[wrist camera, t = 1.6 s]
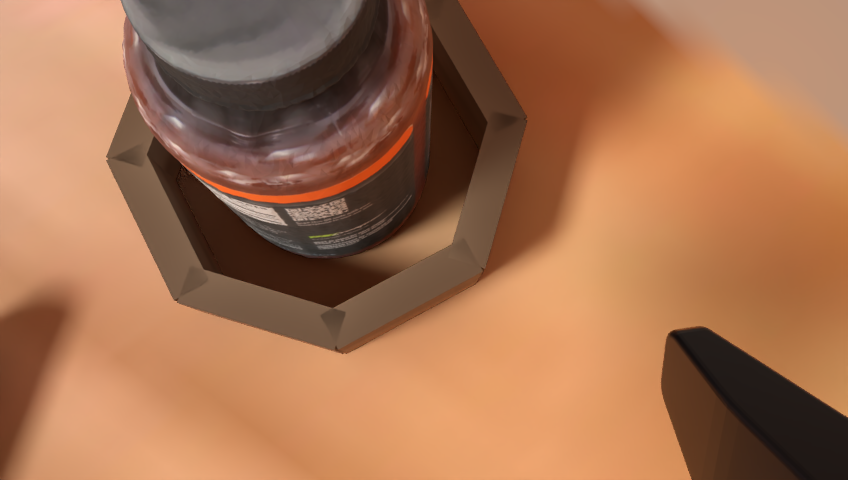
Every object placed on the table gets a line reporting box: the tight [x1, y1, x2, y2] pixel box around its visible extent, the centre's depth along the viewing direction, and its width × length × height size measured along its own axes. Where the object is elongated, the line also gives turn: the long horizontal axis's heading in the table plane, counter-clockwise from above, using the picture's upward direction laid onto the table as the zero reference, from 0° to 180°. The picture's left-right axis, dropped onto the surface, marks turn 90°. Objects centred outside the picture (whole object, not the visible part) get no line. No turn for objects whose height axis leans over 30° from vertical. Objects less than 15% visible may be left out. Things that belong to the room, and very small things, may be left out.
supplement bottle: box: [121, 0, 433, 259], centre depth 17 cm, size 6×6×11 cm
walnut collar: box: [106, 0, 527, 354], centre depth 21 cm, size 10×10×2 cm
